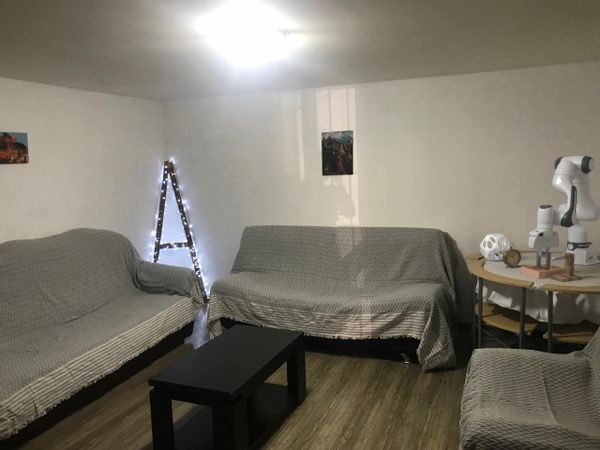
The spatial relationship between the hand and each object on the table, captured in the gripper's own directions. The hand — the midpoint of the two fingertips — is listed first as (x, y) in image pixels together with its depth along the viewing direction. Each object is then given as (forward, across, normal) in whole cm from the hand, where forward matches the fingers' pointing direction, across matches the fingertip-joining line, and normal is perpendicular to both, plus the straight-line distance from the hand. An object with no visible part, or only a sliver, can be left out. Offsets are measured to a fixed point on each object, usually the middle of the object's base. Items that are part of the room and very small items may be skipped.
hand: (543, 255), depth 287 cm
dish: (+12, 0, 0) cm, 12 cm away
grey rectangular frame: (+8, 0, 0) cm, 8 cm away
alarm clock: (+12, +4, -22) cm, 25 cm away
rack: (+12, -2, +13) cm, 18 cm away
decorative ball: (+12, -2, -44) cm, 46 cm away
